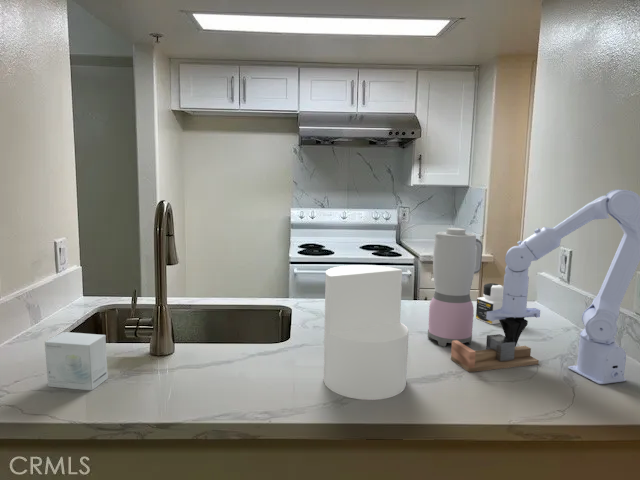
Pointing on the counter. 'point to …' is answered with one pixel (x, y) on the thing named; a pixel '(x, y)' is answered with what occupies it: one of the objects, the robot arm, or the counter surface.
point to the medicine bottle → (489, 301)
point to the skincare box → (76, 360)
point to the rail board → (499, 363)
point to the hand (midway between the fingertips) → (511, 345)
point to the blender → (453, 285)
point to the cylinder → (364, 332)
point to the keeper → (501, 347)
